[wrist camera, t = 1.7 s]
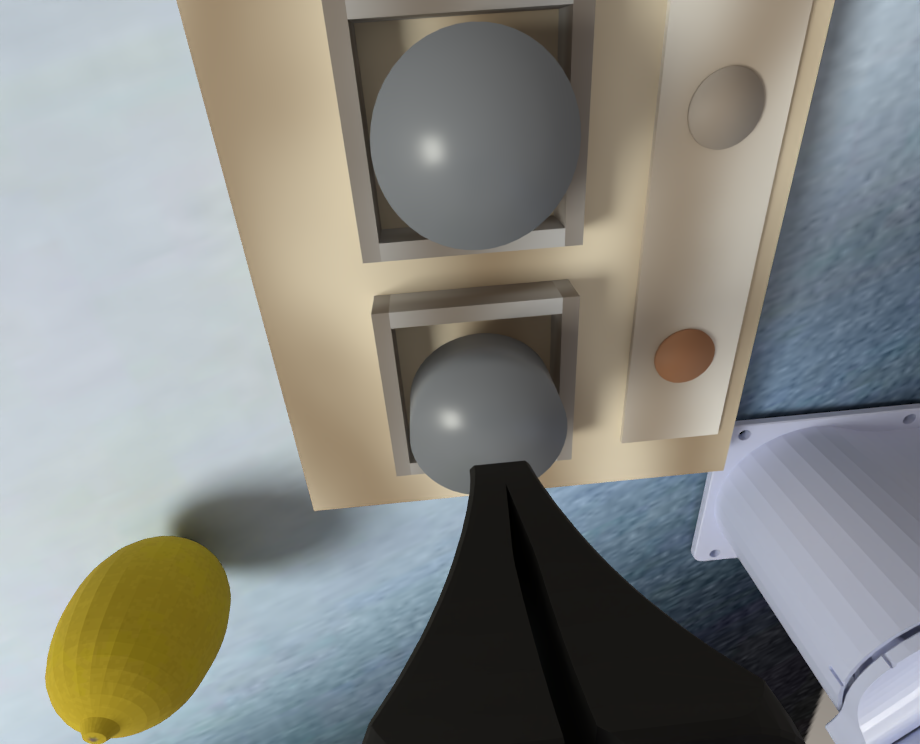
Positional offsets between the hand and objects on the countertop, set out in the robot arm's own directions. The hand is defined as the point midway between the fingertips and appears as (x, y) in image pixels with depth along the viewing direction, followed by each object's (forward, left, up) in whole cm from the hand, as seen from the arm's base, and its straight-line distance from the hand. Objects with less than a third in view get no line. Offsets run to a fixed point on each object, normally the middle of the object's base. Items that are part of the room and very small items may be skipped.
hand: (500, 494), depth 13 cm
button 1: (0, 0, -4) cm, 4 cm away
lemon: (+13, +9, -8) cm, 18 cm away
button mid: (0, -7, -4) cm, 9 cm away
